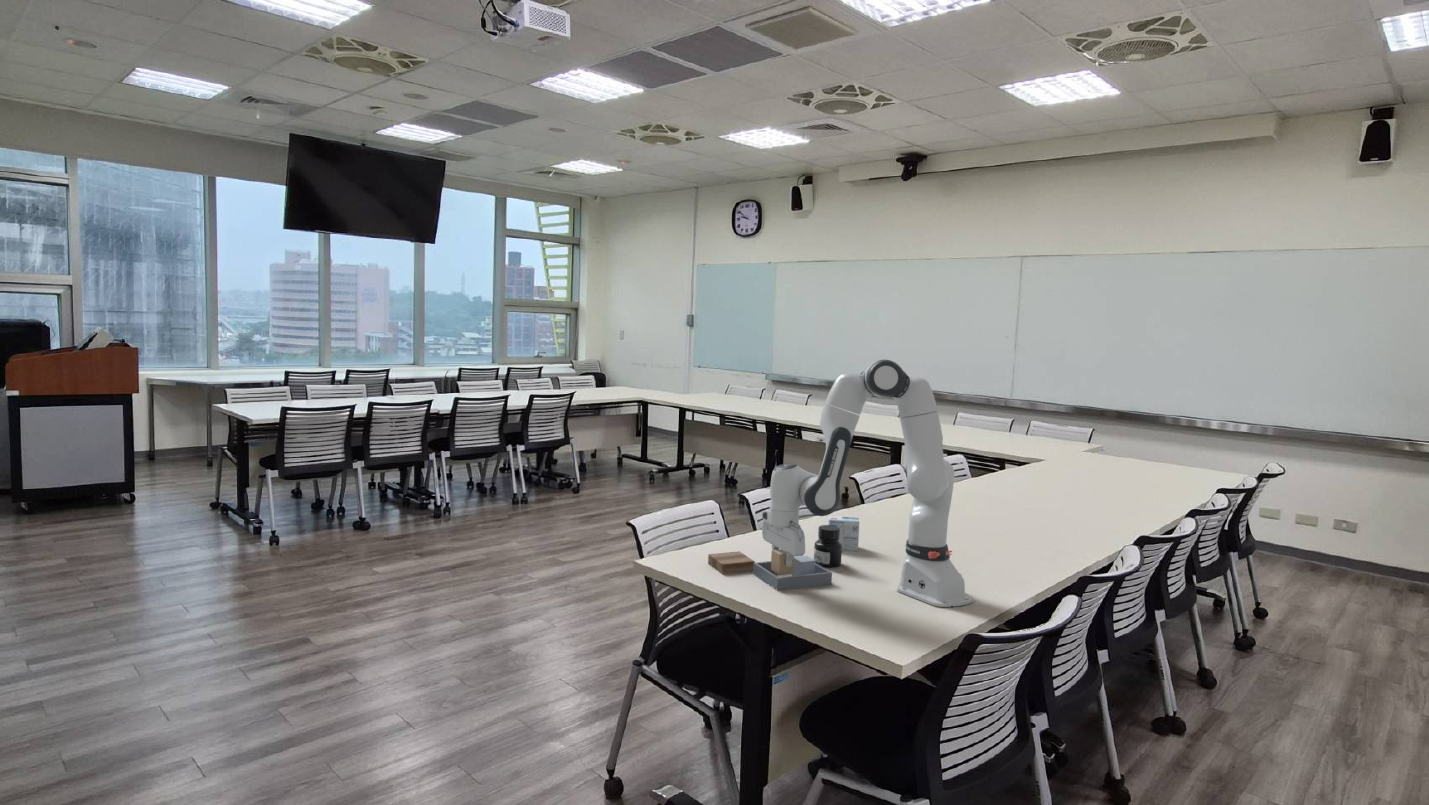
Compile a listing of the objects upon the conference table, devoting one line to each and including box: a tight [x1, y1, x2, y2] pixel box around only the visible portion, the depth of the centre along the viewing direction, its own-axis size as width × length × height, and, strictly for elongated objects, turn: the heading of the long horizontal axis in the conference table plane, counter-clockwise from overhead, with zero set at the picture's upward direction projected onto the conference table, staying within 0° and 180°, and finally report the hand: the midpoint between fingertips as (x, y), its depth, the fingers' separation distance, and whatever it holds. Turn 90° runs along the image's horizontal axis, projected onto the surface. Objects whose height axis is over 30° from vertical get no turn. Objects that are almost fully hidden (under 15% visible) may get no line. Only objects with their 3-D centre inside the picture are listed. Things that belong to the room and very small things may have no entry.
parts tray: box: [752, 560, 833, 591], centre depth 238 cm, size 16×19×4 cm
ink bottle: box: [813, 524, 843, 568], centre depth 255 cm, size 10×9×12 cm
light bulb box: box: [827, 514, 860, 552], centre depth 273 cm, size 11×7×11 cm, turn 84°
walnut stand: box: [707, 551, 756, 575], centre depth 247 cm, size 11×11×3 cm
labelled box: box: [770, 548, 794, 576], centre depth 236 cm, size 5×5×6 cm
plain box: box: [791, 555, 815, 576], centre depth 240 cm, size 5×5×6 cm
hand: (782, 562), depth 236 cm, fingers closed on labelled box, 5 cm apart
